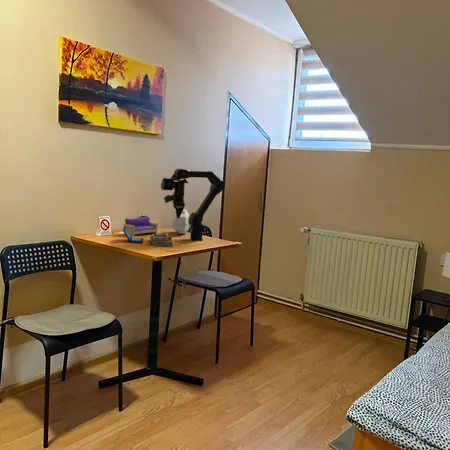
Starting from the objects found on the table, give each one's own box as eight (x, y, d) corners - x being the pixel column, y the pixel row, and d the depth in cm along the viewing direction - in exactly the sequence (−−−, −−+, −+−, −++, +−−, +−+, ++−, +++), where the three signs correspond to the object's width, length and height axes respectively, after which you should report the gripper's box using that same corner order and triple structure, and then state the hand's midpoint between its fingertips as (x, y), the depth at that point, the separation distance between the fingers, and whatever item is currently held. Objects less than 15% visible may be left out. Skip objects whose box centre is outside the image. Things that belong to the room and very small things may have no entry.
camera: (190, 232, 299) (192, 207, 297) (187, 236, 281) (188, 210, 279) (174, 230, 299) (175, 206, 297) (169, 235, 281) (170, 209, 279)
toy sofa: (132, 237, 266) (133, 219, 264) (122, 235, 271) (123, 218, 269) (158, 234, 283) (158, 217, 281) (147, 232, 288) (148, 216, 286)
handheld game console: (142, 244, 248) (143, 230, 247) (122, 243, 246) (122, 229, 245) (143, 240, 260) (144, 227, 259) (124, 239, 258) (124, 226, 258)
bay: (171, 240, 262) (171, 236, 262) (172, 246, 244) (172, 242, 244) (150, 239, 260) (150, 235, 260) (149, 245, 243) (149, 241, 242)
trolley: (166, 241, 259) (167, 233, 258) (167, 245, 247) (167, 236, 246) (152, 241, 257) (153, 232, 257) (152, 245, 246) (152, 236, 245)
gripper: (164, 188, 270) (163, 215, 272) (165, 191, 252) (163, 219, 254) (183, 189, 272) (182, 216, 274) (185, 192, 254) (183, 220, 256)
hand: (177, 217), depth 265 cm, fingers open, 9 cm apart
